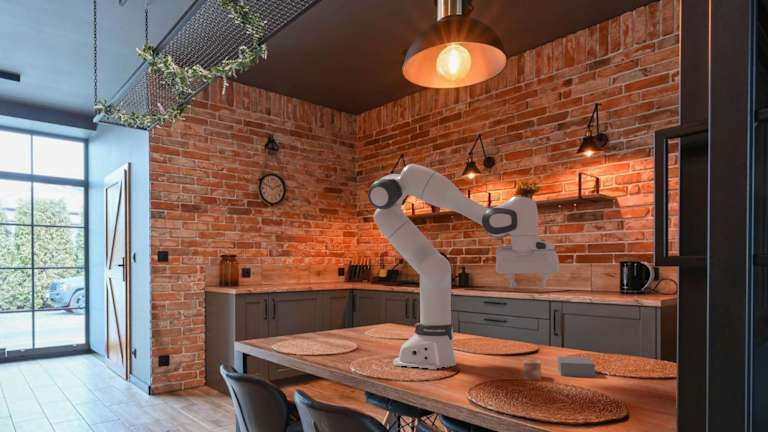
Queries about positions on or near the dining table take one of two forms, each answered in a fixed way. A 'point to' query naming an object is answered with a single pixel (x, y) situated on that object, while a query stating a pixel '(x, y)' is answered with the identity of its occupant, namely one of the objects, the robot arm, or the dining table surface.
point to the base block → (576, 366)
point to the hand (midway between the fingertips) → (527, 287)
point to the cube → (532, 369)
